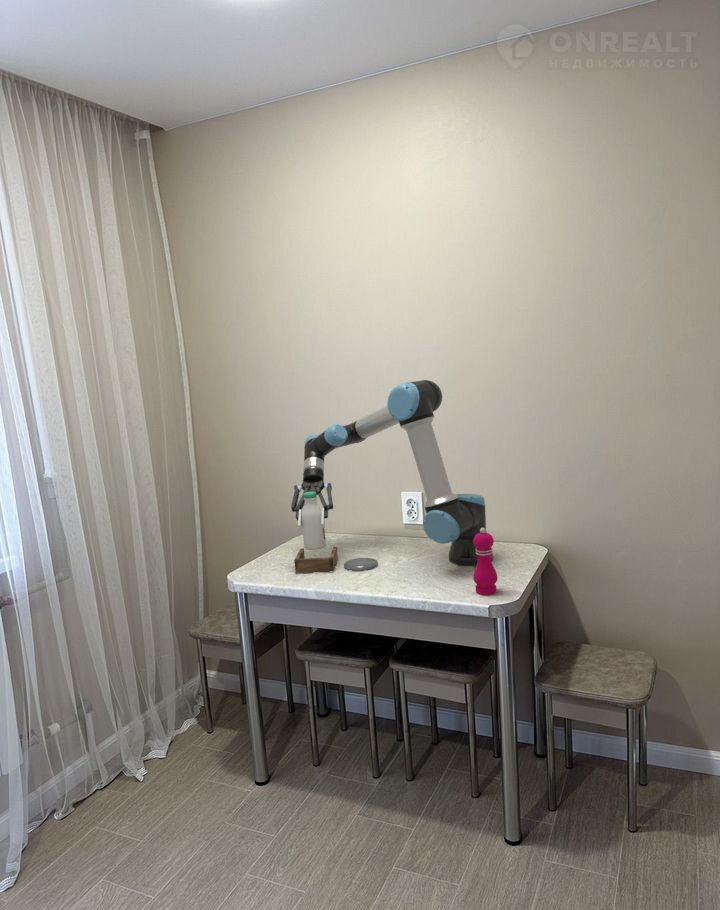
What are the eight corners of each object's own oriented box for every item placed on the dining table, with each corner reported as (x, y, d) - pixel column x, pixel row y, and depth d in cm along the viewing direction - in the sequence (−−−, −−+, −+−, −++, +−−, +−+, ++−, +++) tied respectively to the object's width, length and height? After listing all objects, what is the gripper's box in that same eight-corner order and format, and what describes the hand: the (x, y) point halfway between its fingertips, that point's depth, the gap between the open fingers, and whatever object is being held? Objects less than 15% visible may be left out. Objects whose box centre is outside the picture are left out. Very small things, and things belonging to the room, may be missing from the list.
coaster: (383, 566, 245) (383, 563, 245) (352, 573, 240) (352, 570, 240) (368, 558, 256) (368, 555, 256) (338, 564, 251) (338, 562, 251)
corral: (333, 572, 243) (332, 558, 243) (295, 573, 245) (294, 560, 244) (338, 559, 257) (336, 546, 256) (301, 561, 258) (300, 548, 257)
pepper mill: (471, 595, 212) (468, 530, 209) (476, 586, 218) (473, 524, 215) (495, 596, 209) (492, 531, 206) (500, 588, 216) (497, 524, 213)
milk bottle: (323, 550, 245) (317, 494, 242) (301, 551, 247) (295, 495, 244) (328, 544, 253) (323, 489, 250) (307, 544, 254) (302, 490, 251)
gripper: (342, 476, 261) (341, 530, 247) (288, 480, 263) (284, 533, 249) (339, 464, 255) (338, 519, 241) (284, 468, 256) (280, 523, 243)
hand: (311, 526), depth 245 cm, fingers closed on milk bottle, 7 cm apart
